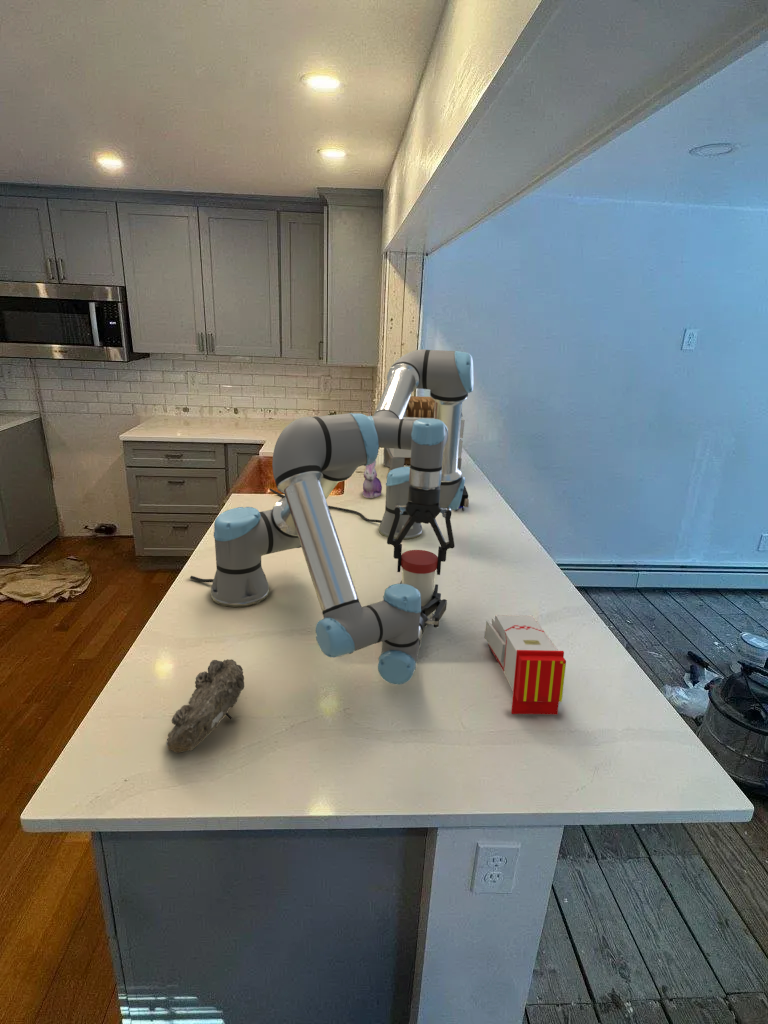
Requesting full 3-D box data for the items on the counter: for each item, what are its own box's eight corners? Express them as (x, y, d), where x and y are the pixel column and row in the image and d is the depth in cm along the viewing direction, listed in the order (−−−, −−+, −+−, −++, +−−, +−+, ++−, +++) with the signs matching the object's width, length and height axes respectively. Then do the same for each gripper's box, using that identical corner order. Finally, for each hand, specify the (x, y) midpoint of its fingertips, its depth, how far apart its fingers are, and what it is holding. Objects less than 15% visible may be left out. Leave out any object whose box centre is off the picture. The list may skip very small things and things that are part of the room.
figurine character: (468, 516, 224) (463, 500, 237) (471, 498, 221) (465, 483, 234) (452, 515, 224) (447, 499, 237) (453, 498, 220) (449, 482, 234)
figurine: (366, 499, 233) (368, 464, 228) (356, 492, 241) (357, 458, 236) (387, 497, 237) (388, 462, 232) (376, 490, 246) (377, 456, 241)
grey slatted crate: (382, 463, 289) (386, 382, 275) (445, 464, 293) (451, 384, 279) (390, 482, 257) (394, 392, 243) (460, 483, 261) (468, 394, 247)
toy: (530, 600, 137) (574, 657, 108) (525, 651, 140) (567, 720, 111) (480, 599, 137) (511, 656, 107) (477, 651, 139) (506, 719, 110)
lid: (402, 573, 137) (403, 565, 136) (398, 557, 145) (399, 549, 144) (440, 573, 137) (441, 565, 137) (434, 558, 146) (434, 549, 145)
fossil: (192, 660, 117) (244, 628, 112) (224, 691, 120) (276, 661, 115) (142, 746, 98) (202, 712, 93) (182, 779, 101) (242, 748, 96)
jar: (401, 625, 142) (405, 565, 136) (397, 609, 150) (401, 551, 144) (433, 625, 143) (438, 565, 137) (428, 609, 151) (433, 552, 145)
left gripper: (360, 640, 130) (379, 594, 152) (451, 653, 127) (458, 604, 148) (361, 611, 128) (380, 569, 149) (454, 623, 125) (460, 579, 146)
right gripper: (469, 483, 137) (461, 567, 145) (379, 478, 138) (376, 562, 146) (472, 492, 130) (463, 580, 138) (377, 487, 131) (374, 574, 139)
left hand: (419, 587), depth 149 cm, fingers closed on jar, 8 cm apart
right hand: (418, 571), depth 142 cm, fingers closed on lid, 9 cm apart
